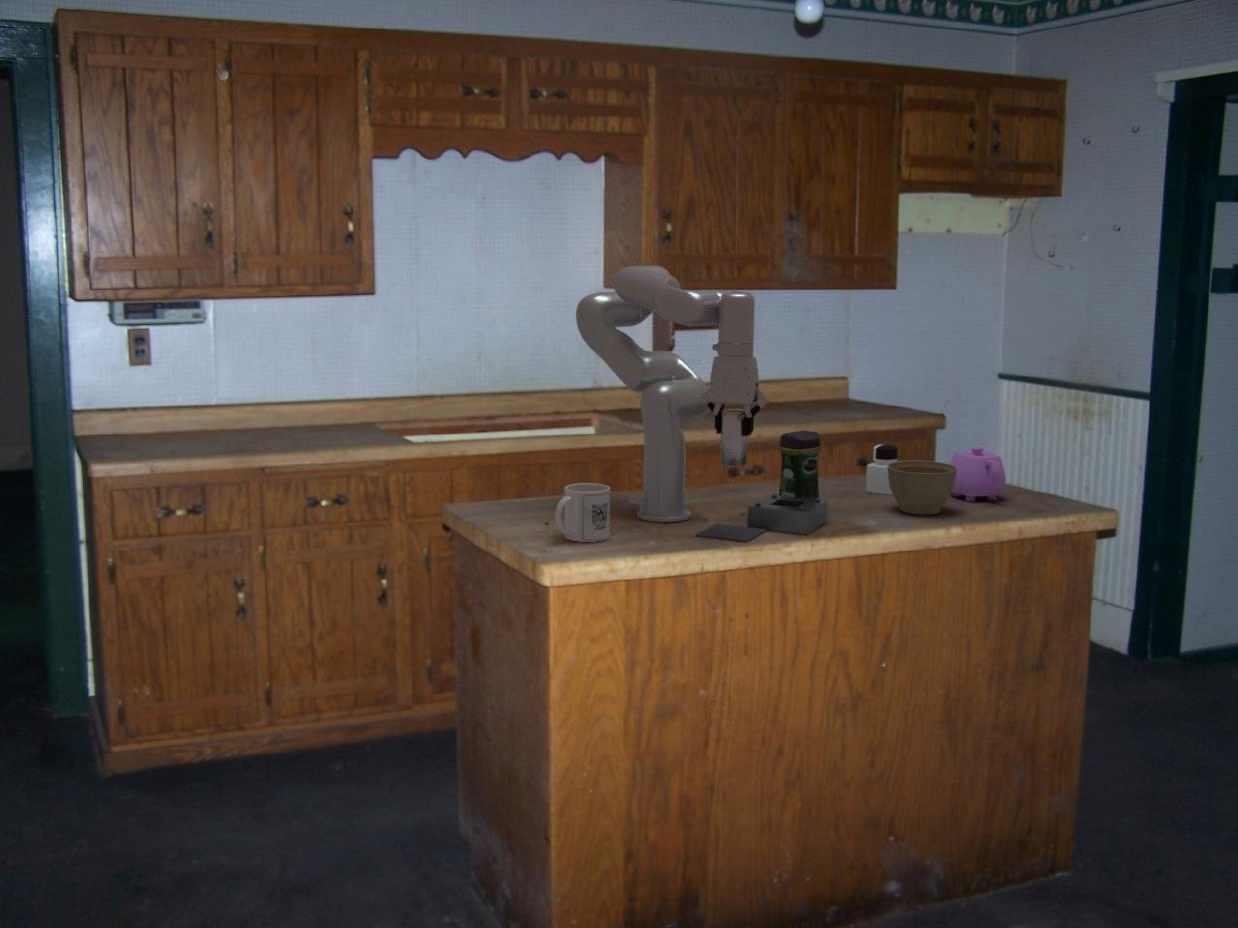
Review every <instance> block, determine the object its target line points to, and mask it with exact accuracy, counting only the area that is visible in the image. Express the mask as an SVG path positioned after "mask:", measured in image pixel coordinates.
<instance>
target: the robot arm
mask: <svg viewBox="0 0 1238 928" xmlns="http://www.w3.org/2000/svg"><path fill="white" fill-rule="evenodd" d="M612 287H613V290H614V291H604V292H603V291H602V292H595V293H591V294H588V295H587V296H585V297H583V298H581V300H580V301H579V302H578V304H577V306H576V310H575V311H576V312H575V320H576V325H577V329H578V332H579V334H580V337H581V338H582V340H583V341H584V342H585V343H586V346H588V347H589V349H591V351H593V353H595V354H596V355H597V356H598V357H599V358H601V360H603V362H604V363H605V364H606V365H607V366H608V367H609V369H610V370H611V371H612V372H613V373H614V374H615V375H616V376H617V378H618V379H619V380H620V381H621V382H622V384H623V385H624V386H626V388H628V389H629V390H630V391H631V392H633V393H639V394H641V396H640V401H639V403H640V404H639V406H640V413H641V417H642V423H643V424H642V425H643V436H644V437H643V438H644V444H643V446H644V447H643V448H644V449H643V452H644V453H643V454H644V455H643V457H644V458H643V460H644V461H643V472H644V473H643V496H641V497H640V496H638V495H637V496H636V495H630V496H629V500H628V501H629V505H630V506H634V507H635V506H637V507H638V508H639V509H638V510H637V512H636V516H637V518H639V519H640V520H643V521H646V522H654V523H677V522H684V521H687V520H690V519H691V518H692V512H691V510H689V509H687V508H685V507H686V455H687V450H686V438H685V434H684V432H683V430H682V428H681V426H680V423H679V422H683V421H685V422H686V421H690V420H691V421H693V420H697V419H701V418H703V417H705V416H706V415H707V414H708V413H709V411H711V412H712V414H713V416H714V430H715V431H716V433H715V434H717V435H719V434H720V435H721V410H723V409H725V407H726V405H739V406H740V405H741V406H742V407H743V409H744V410H745V413H746V417H745V418H744V432H743V435H744V436H747V437H749V436H751V435H752V433H753V432H754V425H755V424H754V423H755V422H754V421H755V420H754V419H755V418H754V417H755V416H757V414H758V413H759V412H761V410H762V409H763V408H764V407H766V406H767V405H768V404H769V403H770V402H769V398H767V396H766V395H765V394H764V393H763V391H761V389H760V376H759V368H758V361H757V358H756V357H754V337H755V336H754V335H755V334H754V332H755V330H754V329H755V298H754V296H753V294H751V293H749V292H740V291H739V292H738V291H737V292H731V291H727V290H721V289H717V290H716V289H712V290H710V289H705V290H703V289H701V290H686V289H682V288H681V287H682V286H681V284H680V282H679V280H678V279H677V278H676V277H674V276H672V275H671V273H670V272H669V270H667V268H665V267H663V266H659V265H630V266H627V267H624V268H622V269H620V270H619V271H618V272H617V273H616V274H615V276H614V278H613V284H612ZM654 312H656V313H657V314H658V315H659V317H660V318H662V319H663V320H665V321H668V322H672V323H675V324H678V325H682V326H686V327H699V326H718V334H717V335H718V339H717V340H718V342H717V343H716V344H712V347H711V348H712V351H715V352H717V355H716V356H714V358H713V359H712V360H713V361H712V365H711V373H710V377H709V378H710V381H709V387H708V386H707V384H706V383H705V381H704V380H703V379H702V378H701V377H700V376H699V375H698V374H697V373H696V372H695V370H693V368H692V367H690V366H689V365H688V363H687V362H686V361H685V360H684V359H683V358H682V357H681V356H679V355H678V354H676V353H674V352H672V351H670V350H669V351H668V350H652V351H649V350H645V349H643V348H642V347H640V346H639V345H638V343H637V342H636V341H635V340H634V339H633V338H632V337H631V336H629V335H628V334H627V333H625V332H623V331H622V330H620V329H618V328H624V327H625V328H627V327H628V328H629V327H634V326H638V325H640V324H641V323H643V322H644V321H645V320H646V319H648V317H649V316H651V314H653V313H654ZM756 402H758V403H757V404H756V405H754V403H756Z"/></svg>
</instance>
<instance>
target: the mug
mask: <svg viewBox="0 0 1238 928" xmlns="http://www.w3.org/2000/svg"><path fill="white" fill-rule="evenodd" d="M563 508H564V526H563V523H562V513H563V512H562V511H563ZM554 522H555V526H556V528H557V530H558V531H559V532H560V533H561V534H563V535H564V538H566V540H567V539H569V540H572V541H571V542H573V541H579V542H578V543H581V542H593V543H595V542H594V541H601V542H603V541H602V540H605V541H607V540H606V539H608V538H609V537H611V534H610V533H611V487H610V486H609V485H606V484H601V483H593V482H592V483H589V482H587V483H586V482H585V483H583V482H582V483H574V484H573V483H572V484H569V485H566V486H564V496H563V497H562V498H561V499H560V500H559V502H558V503H557V506H556V508H555V513H554ZM609 539H610V538H609ZM609 539H608V540H609ZM569 540H568V541H569Z"/></svg>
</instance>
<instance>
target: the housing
mask: <svg viewBox="0 0 1238 928" xmlns="http://www.w3.org/2000/svg"><path fill="white" fill-rule="evenodd" d="M828 503H829V502H828V500H824V499H823V500H822V499H821V498H820V497H819V498H815V499H806V498H796V497H786V496H779V495H778V494H777V493H772V494H768V495H766V496H765V497H762V498H760V499H759V500H757V501H754V502H753V503H751V504H749V505H747V520H746V521H747V523H746V525H747V526H746V527H751V528H759V529H767V531H773V532H779V531H782V532H781V533H790V534H799V535H809V534H811V533H812V532H814V531H815V530H817V529H819V527H822V526H823V525H825V524H826V523H827V522H828Z"/></svg>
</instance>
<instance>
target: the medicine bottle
mask: <svg viewBox="0 0 1238 928" xmlns="http://www.w3.org/2000/svg"><path fill="white" fill-rule="evenodd" d="M898 449H899V448H898V447H897V446H895V445H893V444H886V443H884V444H876V445H875V446H874V447H873V455H872V457H873V458H872V461H873V462H871V463H869V464H867V465H866V479H865V481H866V482H865V492H866V493H870V492H871V493H873V494H879V493H880V495H887V494H888V495H889V496H894V495H893V493H892V491H891V489H890V485H889V479H888V469H887V465H888V464H890V463H893V462H898Z"/></svg>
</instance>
